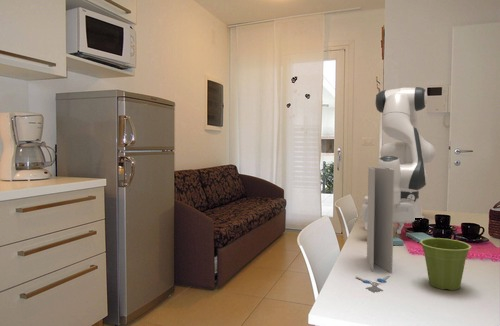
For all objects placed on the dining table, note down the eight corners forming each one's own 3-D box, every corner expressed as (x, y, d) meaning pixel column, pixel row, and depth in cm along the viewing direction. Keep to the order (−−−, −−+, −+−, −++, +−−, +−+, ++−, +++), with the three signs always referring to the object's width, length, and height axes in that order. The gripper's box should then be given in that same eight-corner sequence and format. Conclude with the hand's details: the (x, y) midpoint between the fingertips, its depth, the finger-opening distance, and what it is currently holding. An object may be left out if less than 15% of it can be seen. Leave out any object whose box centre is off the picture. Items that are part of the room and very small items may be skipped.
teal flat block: (406, 236, 150) (406, 232, 150) (423, 236, 150) (423, 232, 150) (422, 245, 136) (422, 241, 136) (441, 245, 136) (441, 241, 136)
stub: (374, 235, 150) (374, 222, 149) (388, 235, 150) (388, 222, 149) (387, 245, 136) (387, 230, 135) (403, 245, 136) (403, 230, 135)
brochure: (392, 273, 106) (394, 169, 105) (372, 271, 107) (374, 169, 106) (384, 258, 120) (386, 167, 118) (366, 257, 121) (368, 166, 120)
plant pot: (425, 274, 105) (426, 235, 104) (473, 284, 97) (474, 242, 97) (413, 286, 96) (414, 244, 95) (465, 298, 88) (466, 252, 88)
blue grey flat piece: (381, 295, 91) (381, 292, 91) (348, 289, 95) (348, 286, 95) (390, 278, 103) (390, 275, 103) (360, 273, 107) (360, 270, 107)
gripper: (411, 197, 145) (410, 231, 146) (359, 197, 145) (359, 231, 145) (418, 199, 139) (417, 235, 140) (365, 199, 139) (364, 235, 139)
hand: (387, 233), depth 142 cm, fingers open, 7 cm apart
